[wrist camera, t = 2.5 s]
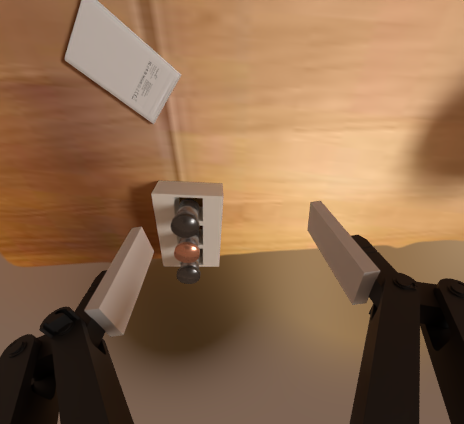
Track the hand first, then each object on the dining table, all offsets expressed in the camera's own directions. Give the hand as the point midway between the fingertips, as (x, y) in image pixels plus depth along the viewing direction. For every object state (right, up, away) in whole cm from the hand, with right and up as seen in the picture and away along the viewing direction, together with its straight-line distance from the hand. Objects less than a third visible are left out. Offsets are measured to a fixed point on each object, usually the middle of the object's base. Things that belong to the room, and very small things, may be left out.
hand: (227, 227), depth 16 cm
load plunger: (-8, -3, +23) cm, 25 cm away
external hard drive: (-14, +22, +12) cm, 29 cm away
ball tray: (-8, 0, +27) cm, 28 cm away
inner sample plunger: (-7, +2, +20) cm, 22 cm away
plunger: (-8, -8, +27) cm, 29 cm away
